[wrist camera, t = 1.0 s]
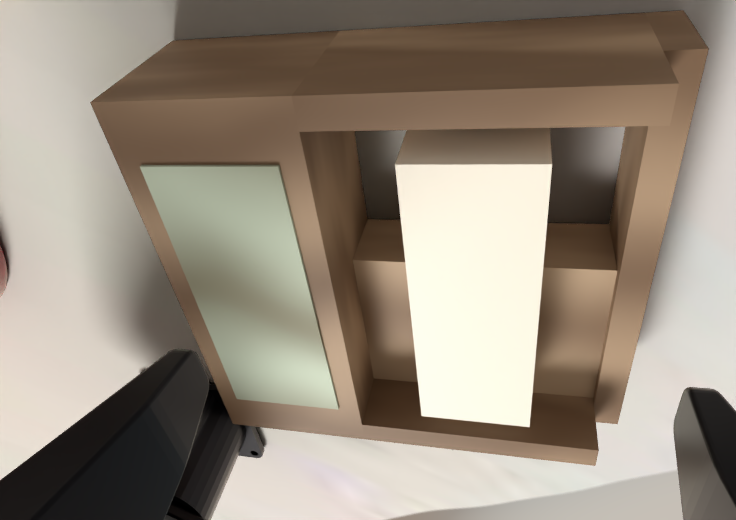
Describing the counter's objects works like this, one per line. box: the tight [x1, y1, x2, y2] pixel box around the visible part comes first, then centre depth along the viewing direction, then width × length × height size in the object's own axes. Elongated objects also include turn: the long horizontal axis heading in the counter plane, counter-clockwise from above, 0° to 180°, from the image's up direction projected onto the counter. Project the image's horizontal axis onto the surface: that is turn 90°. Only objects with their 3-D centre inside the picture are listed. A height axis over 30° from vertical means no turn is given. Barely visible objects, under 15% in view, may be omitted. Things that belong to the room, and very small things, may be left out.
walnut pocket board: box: [90, 10, 709, 466], centre depth 21 cm, size 15×16×5 cm
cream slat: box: [395, 128, 552, 427], centre depth 19 cm, size 11×4×2 cm, turn 7°
